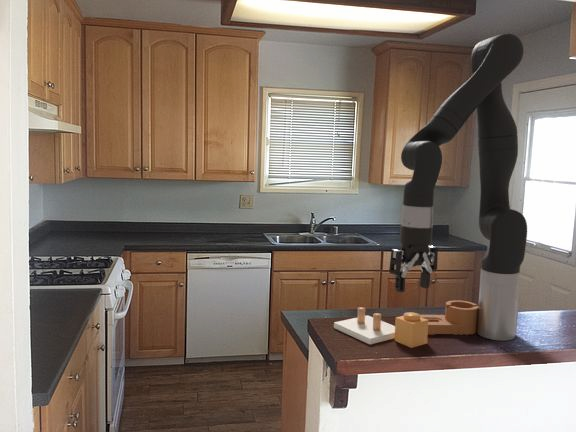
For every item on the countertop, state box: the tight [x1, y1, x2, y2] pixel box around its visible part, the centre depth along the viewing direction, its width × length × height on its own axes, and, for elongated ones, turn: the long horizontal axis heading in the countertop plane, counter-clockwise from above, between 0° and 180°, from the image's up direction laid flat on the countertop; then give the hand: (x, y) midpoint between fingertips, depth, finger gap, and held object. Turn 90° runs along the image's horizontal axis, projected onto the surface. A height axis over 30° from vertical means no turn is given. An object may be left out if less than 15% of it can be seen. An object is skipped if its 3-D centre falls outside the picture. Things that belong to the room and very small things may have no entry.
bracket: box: [420, 299, 479, 336], centre depth 138 cm, size 18×8×7 cm, turn 91°
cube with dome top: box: [394, 311, 429, 349], centre depth 128 cm, size 6×6×7 cm
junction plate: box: [333, 306, 395, 345], centre depth 135 cm, size 12×14×6 cm
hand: (412, 289), depth 127 cm, fingers open, 8 cm apart
